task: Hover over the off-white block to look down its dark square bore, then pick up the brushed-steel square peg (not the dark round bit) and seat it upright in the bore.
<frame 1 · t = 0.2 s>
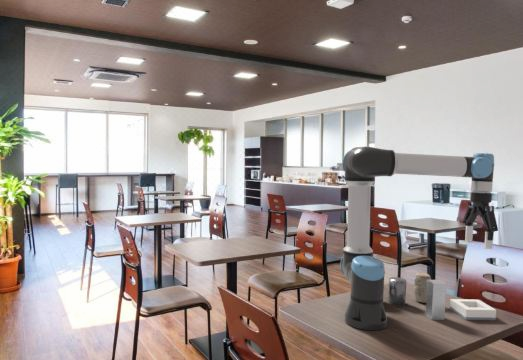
hand: (478, 244, 167), 27 cm above the table, fingers open, 13 cm apart
bore block: (471, 314, 166), on the table
round bit: (396, 302, 176), on the table
square peg: (434, 317, 161), on the table
carving: (422, 302, 179), on the table
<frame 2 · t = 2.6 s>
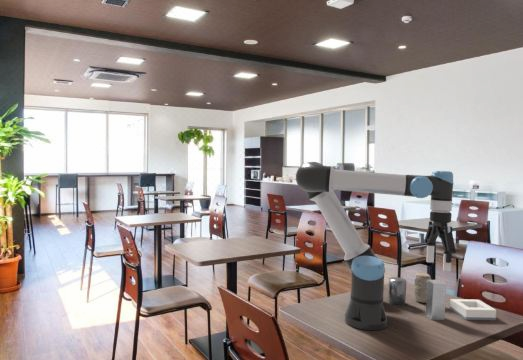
hand: (437, 266, 160), 20 cm above the table, fingers open, 13 cm apart
nothing on the table moved.
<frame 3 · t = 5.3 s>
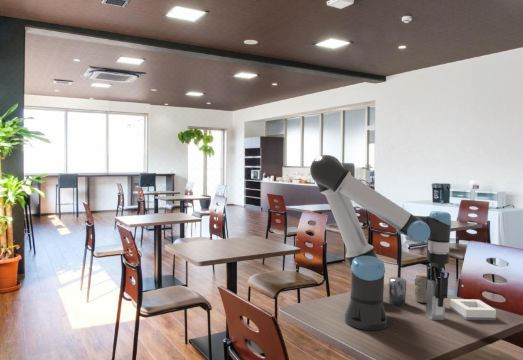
hand: (435, 311, 161), 2 cm above the table, fingers closed on square peg, 5 cm apart
square peg: (434, 317, 161), on the table, touching gripper
everything else where it was.
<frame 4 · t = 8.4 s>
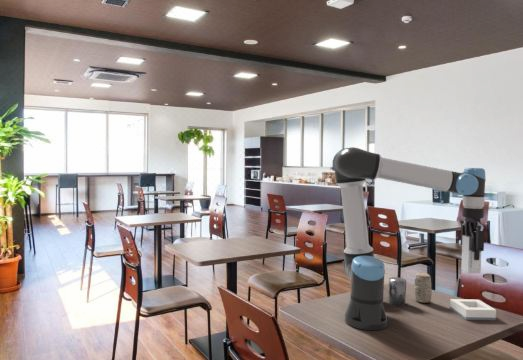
hand: (470, 266, 164), 20 cm above the table, fingers closed on square peg, 5 cm apart
square peg: (470, 271, 164), point 17 cm above the table, touching gripper
everything else where it was.
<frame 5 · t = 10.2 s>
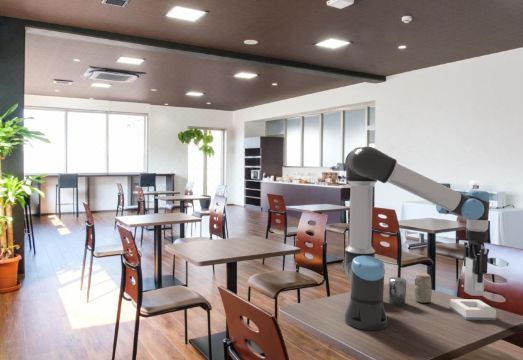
hand: (473, 287, 165), 11 cm above the table, fingers closed on square peg, 5 cm apart
square peg: (473, 293, 165), point 8 cm above the table, touching gripper
everything else where it was.
when the fingers open (5 cm above the table, at t = 11.9 s): square peg drops 2 cm, resting on bore block.
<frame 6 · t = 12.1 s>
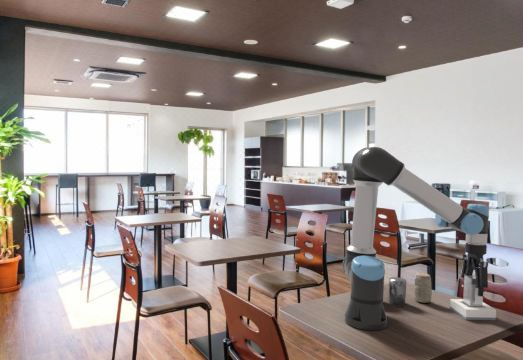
hand: (472, 300, 165), 6 cm above the table, fingers open, 7 cm apart
square peg: (472, 311, 166), point 1 cm above the table, touching bore block
everything else where it was.
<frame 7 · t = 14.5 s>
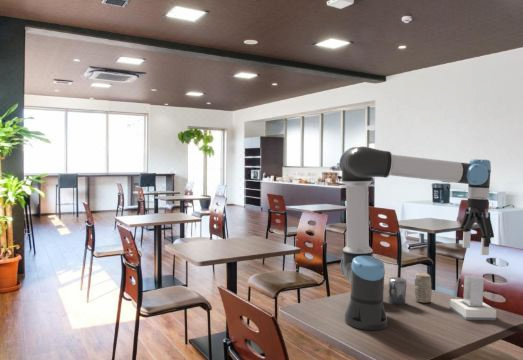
hand: (475, 251, 167), 25 cm above the table, fingers open, 13 cm apart
nothing on the table moved.
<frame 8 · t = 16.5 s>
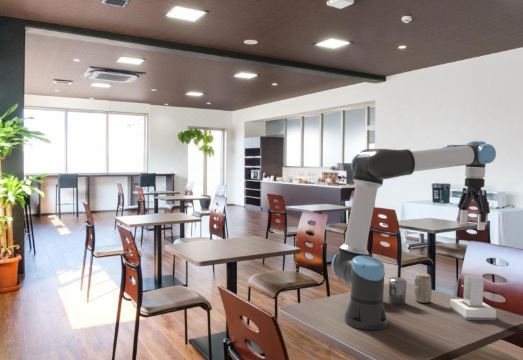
hand: (471, 227, 178), 33 cm above the table, fingers open, 13 cm apart
nothing on the table moved.
at the end: square peg 0.0 cm off-centre on the bore block, point 1.0 cm above the bore block's base; square peg tilted 0°; the gripper is holding nothing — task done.
